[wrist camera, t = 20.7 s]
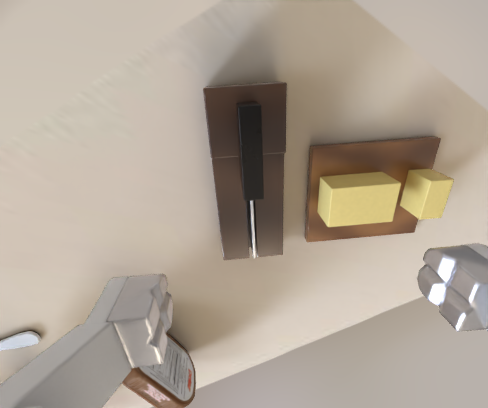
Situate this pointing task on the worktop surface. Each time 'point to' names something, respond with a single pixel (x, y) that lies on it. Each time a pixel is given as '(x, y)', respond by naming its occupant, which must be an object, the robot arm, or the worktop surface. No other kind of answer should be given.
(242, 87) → the knife stand
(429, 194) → the butter pat
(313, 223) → the board
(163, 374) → the tin
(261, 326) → the worktop surface
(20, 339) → the butter knife
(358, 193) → the butter
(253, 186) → the knife
